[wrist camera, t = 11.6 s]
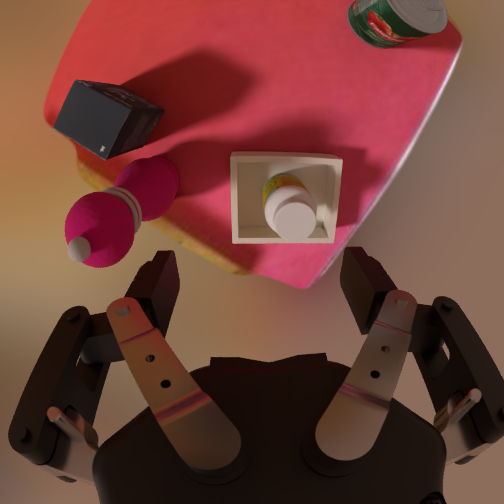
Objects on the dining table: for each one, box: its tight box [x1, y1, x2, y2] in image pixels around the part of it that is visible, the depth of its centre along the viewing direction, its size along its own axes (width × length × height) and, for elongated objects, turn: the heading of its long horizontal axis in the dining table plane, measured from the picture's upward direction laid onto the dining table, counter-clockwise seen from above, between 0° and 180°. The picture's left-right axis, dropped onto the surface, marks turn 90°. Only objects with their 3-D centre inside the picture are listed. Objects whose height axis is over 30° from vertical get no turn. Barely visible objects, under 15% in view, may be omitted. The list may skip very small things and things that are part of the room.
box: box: [54, 80, 164, 160], centre depth 24 cm, size 8×6×11 cm
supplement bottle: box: [262, 173, 317, 242], centre depth 29 cm, size 5×5×10 cm
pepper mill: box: [65, 157, 180, 268], centre depth 24 cm, size 7×7×20 cm
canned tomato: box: [347, 0, 448, 49], centre depth 18 cm, size 8×8×11 cm
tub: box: [230, 151, 343, 243], centre depth 33 cm, size 10×12×4 cm
